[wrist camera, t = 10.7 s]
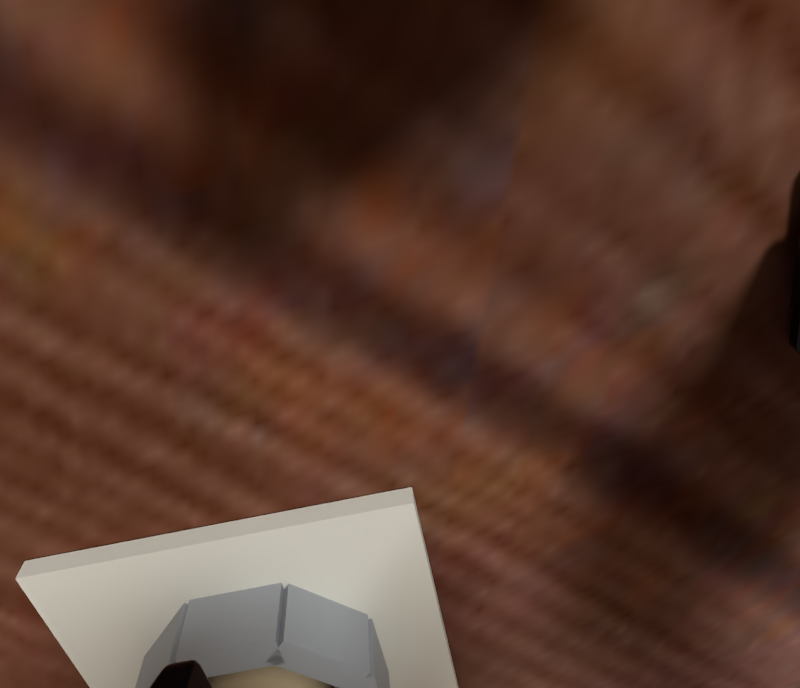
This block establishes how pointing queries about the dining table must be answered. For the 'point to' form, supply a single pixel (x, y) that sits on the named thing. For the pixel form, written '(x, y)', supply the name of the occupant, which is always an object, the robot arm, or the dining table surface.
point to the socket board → (256, 599)
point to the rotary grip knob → (266, 679)
